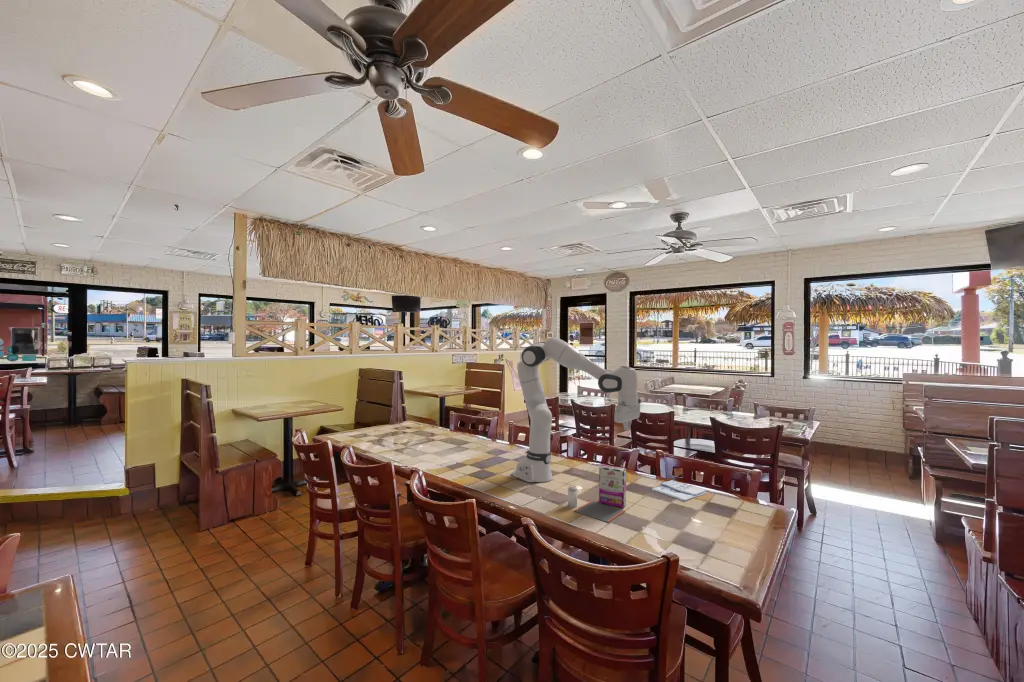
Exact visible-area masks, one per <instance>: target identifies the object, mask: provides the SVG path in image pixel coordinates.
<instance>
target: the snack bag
mask: <svg viewBox="0 0 1024 682" xmlns="http://www.w3.org/2000/svg"><path fill="white" fill-rule="evenodd" d="M650 490H651V491H653V492H656V493H658V494H659V493H660V494H662V495H665V496H667V497H669V498H670V497H671V498H674V499H676V500H677V501H678V500H679V501H680V502H684V503H685V502H686V501H689V500H691V499H695V498H698V497H701V496H704V495H706V493H707V494H708V492H706V491H707V489H704V488H701V487H698V486H693V485H690V484H687V483H684V482H678V481H676V480H672V479H671V480H668V481H663V482H661V483H660V485H659V486H656V487H653V488H651V489H650Z"/></svg>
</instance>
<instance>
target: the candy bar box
mask: <svg viewBox="0 0 1024 682" xmlns="http://www.w3.org/2000/svg"><path fill="white" fill-rule="evenodd" d="M598 469H599V471H598V472H599V476H598V478H599V480H598V481H599V482H598V484H599V486H598V493H599V494H598V503H601V504H604V505H608V506H611V507H614V508H619V509H624V508H625V507H626V505H627V468H626V467H619V466H614V465H612V466H611V465H605V464H602V465H600V466H599V467H598Z"/></svg>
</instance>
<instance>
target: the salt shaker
mask: <svg viewBox="0 0 1024 682" xmlns="http://www.w3.org/2000/svg"><path fill="white" fill-rule="evenodd" d="M567 507H568V508H571V509H574V508H577V507H578V488H577V487H575V486H569V487H568V489H567Z"/></svg>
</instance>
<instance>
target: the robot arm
mask: <svg viewBox="0 0 1024 682" xmlns="http://www.w3.org/2000/svg"><path fill="white" fill-rule="evenodd" d="M520 357H521V358H520V359H521V360H520V361H519V362H518V363H517V366H516V367H517V368H516V369H517V376H518V379H519V384H520V387H521V391H522V394H523V398H524V402H525V405H526V409H527V413H528V416H529V418H530V427H529V428H530V429H529V436H528V438H529V440H528V441H529V443H528V450H526V451H525V452H524V454H526V456H525V457H524V458H522V459H520V461H518V462H517V463H516V466H515V467H516V468H515V470H513V471H512V472H511V475H512V476H514V477H515V478H518V479H520V480H522V481H525V482H527V483H545V482H550V481H552V480H553V478H554V477H553V474H552V469H551V468H552V467H551V459H552V458H551V455H552V454H551V432H552V425H553V424H552V421H553V414H552V412H551V410H550V408H549V406H548V404H547V399H546V395H545V391H544V386H543V382H542V379H541V375H540V373H539V366H540V365H543V363H545V362H547V361H548V360H549V359H551V360H553V361H555V362H556V363H558V364H559V365H561V366H562V367H565V368H567V369H570V370H577V371H582V372H585V373H587V374H588V375H590V376H592V377H593V378H595V379H597V384H598V387H599V389H600V391H602V392H604V393H607V394H612V393H616V392H617V405H616V406H615V408H614V417H613V420H614V423H618V424H622V425H623V430H624V431H630V430H631V426H632V422H633V420H636V419H639V418H640V416H641V404H642V399H641V398H640V397H639V396H638V391H637V390H638V389H637V388H638V385H639V383H638V372H637V370H636V369H635V368H633V367H631V366H626V365H625V366H624V365H622V366H620V367H618V368H616V369H614V370H608V369H605V368H604V367H602V366H600V365H599V364H598V363H595V362H593V360H590V359H589V358H588V357H587V356H585V355H584V354H583V353H582V352H581V351H580V350H578V349H577V348H576V347H574V346H573V345H572V344H570V343H568V342H566V341H565V340H563V339H561V338H558V337H555V336H551V337H549V338H547V340H546V341H538V342H534V343H532V344H531V345H529V346H526V347H525V348H524V349H522V353H521V356H520Z"/></svg>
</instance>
